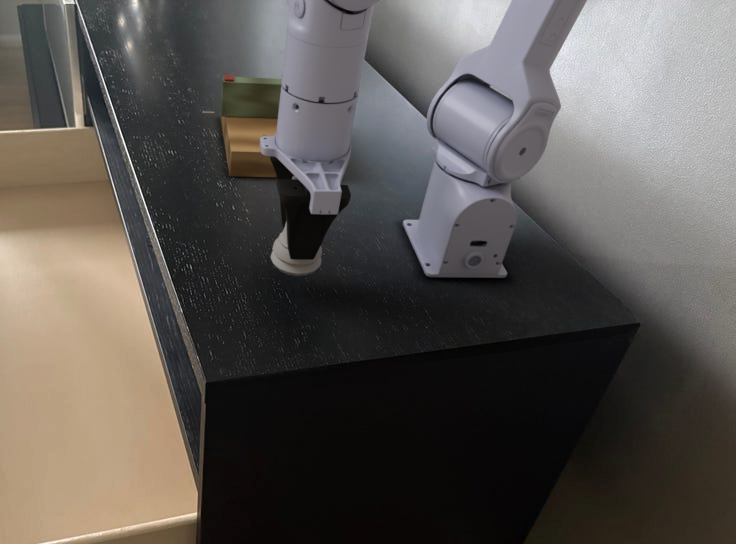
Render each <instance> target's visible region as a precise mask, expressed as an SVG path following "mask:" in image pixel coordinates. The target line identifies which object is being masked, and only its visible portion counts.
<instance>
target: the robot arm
mask: <svg viewBox="0 0 736 544" xmlns="http://www.w3.org/2000/svg"><path fill="white" fill-rule="evenodd" d="M379 1H380V0H286V2H287V3H288V4H289V7H288V16H287V24H286V25H287V26H286V34H285V45H284V54H283V63H282V71H281V72H282V73H281V79H282V81H281V83H282V84H281V93H280V102H279V112H278V121H277V131H276V134H275V135H274V136H264V137H261V138H260V150H261V153H262V154H263V155H265V156H270V160H271V162H272V164H273V167H274V169H275V172H276V175H277V178H276V183H275V184H276V189H277V192H278V193H277V194H278V197H279V208H280V220H281V225H282V229H283V230H284V227H285V224H286V221H287V245H288V251H289V255H290V259H297V260H313V259H314V258H315V256H316V254H317V252H318V250H319V248H320V246H321V247H322V244H323V241H324V239H325V237H326V235H327V233H328V231H329V229H330V227H331V225H332V224H333V222H334V221H335V220H336V219H337V217H338V216H339V214H340V213H342V211H343V210H345V208H346V207H348V205H349V204H350V202H351V198H352V192H351V190H350V188H349V185H348V184H342V181H343V179H344V177H345V176H344V175H345V173H346V171H347V166H348V165H349V162H350V159H351V152H352V146H351V137H352V132H353V128H354V127H353V126H354V120H355V115H356V110H357V104H358V97H359V91H360V87H361V80H362V75H363V68H364V62H365V57H366V53H367V47H368V40H369V34H370V28H371V24H372V17H373V12H374V5H375V4H377V2H379ZM587 2H588V0H511V1H510V3H509V5H508V8H507V10H506V12H505V13H504V15H503V18H502V19H501V22H500V24H499V26H498V28H497V30H496V32H495V33H494V35H493V38H492V40H491V42H490V44H489V45H487V46H485V47H483V48H481V49H478V50H476V51H474V52H470V53H467V54H466V55H463V56H462V57H460V58H459V60H458V62H457V64H456V66H455V68H454V70H453V72H452V74H451V75H450V77H449V78H448V79H447V81H446V82H445V83H444V84H443V85H442V86H441V87H440V88H439V89H438V91H437V92H436V93H435V95H434V97H433V98H432V100H431V101H430V105H429V107H428V110H427V114H426V128H427V131H428V133H429V135H430V136H431V137H432V138H433V139H434V140H433V143H432V147H431V151H432V152H433V153H434V154H435V158H434V161H433V165H432V169H431V172H430V176H429V180H428V184H427V188H426V192H425V195H424V199H423V203H422V206H421V210H420V214H419V217H418V219H404V220H403V221H402V226H403V228H404V230H405V233H406V235H407V237H408V240H409V242H410V244H411V246H412V249H413V250H414V252H415V254H416V257H417V259H418V262H419V264H420V266H421V268H422V270H423V273H424V274H425V276H426V277H428V278H467V279H468V278H472V279H473V278H474V279H475V278H476V279H477V278H479V279H480V278H481V279H483V278H485V279H504V278H506V277H507V276H508V272H507V270H506V268H505V266H504V264H503V262H504V259H505V256H506V253H507V250H508V247H509V246H510V242H511V239H512V236H513V235H514V232H515V229H516V226H517V221H518V214H517V211H516V208H515V206H514V203H513V199H512V183H513V182H515V181H517V180H520V179H521V178H523V177H524V176H525V175H527V174H528V173H529V172H530V171H531V170H532V169H534V168H535V166H536V165H537V164H538V163H539V161H540V160H541V158H542V157H543V156H544V153H545V151H546V148H547V146H548V141H549V137H550V134H551V129H552V126H553V123H554V121H555V119H556V118H557V115H558V114H559V112H560V111H561V109H562V105H561V101H560V100H561V99H560V97H559V94H558V92H557V89H556V86H555V84H554V80H553V78H552V75H551V68H552V66H553V64H554V62H555V60H556V59H557V57H558V54H559V53H560V51H561V49H562V47H563V46H564V44H565V42H566V40H567V38H568V37H569V34H570V33H571V31H572V29H573V27H574V26H575V23H576V21H578V18H579V16H580V14H581V13H582V10H583V9H584V7H585V5H586V3H587ZM494 88H495V89H494ZM506 95H507V96H506ZM293 176H295V177H296V178H297V179H298V180H294V179H292V177H293ZM283 230H282V231H283Z"/></svg>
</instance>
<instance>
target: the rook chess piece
mask: <svg viewBox="0 0 736 544" xmlns="http://www.w3.org/2000/svg"><path fill="white" fill-rule="evenodd" d="M292 179H294V180H298V179H297V178H296V177H295V176H293V177H292ZM271 249H272V251H271V253H270V259H271V262H272V264H273V265H274V267H275V268H276V269H278V270H279V271H280V272H281V273H284V274H286V275H288V276H295V277H302V276H308V275H311V274H313V273H314V272H315V271H316V270H318V268H319V267H321V265H322V255H323V248H322V245H321V246H320V248H319V250H318V252H317V254H316V256H315V258H314V259H313V260H297V259H290V255H289V251H288V245H287V221H286V224H285V227H284V230H282V231H281V232H280V233H279V234H278V237H277V238H276V239H275V240H274V242H273V244H272V248H271Z"/></svg>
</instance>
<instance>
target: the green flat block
mask: <svg viewBox="0 0 736 544" xmlns="http://www.w3.org/2000/svg"><path fill="white" fill-rule="evenodd" d="M281 81H282V78H272V77H271V78H270V77H248V76H247V77H246V76H234V74H224V75H223V76H221V87H220V88H221V89H220V109H219V110H220V117H221V116H227V117H253V118H278V112H279V102H280V93H281V84H282V83H281Z"/></svg>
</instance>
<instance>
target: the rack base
mask: <svg viewBox="0 0 736 544" xmlns="http://www.w3.org/2000/svg"><path fill="white" fill-rule="evenodd" d="M215 113H216V112H215V111H207V110H205V111H204V110H202V112H201V114H202V115H215ZM277 121H278V118H253V117H227V116H221V115H220V124H221V131H222V136H223V143H224V149H225V156H226V157H225V158H226V163H227V169H228V176H229V177H237V178H238V177H240V178H276V179H277V175H276V172H275V169H274V167H273V164H272V162H271V160H270V156H265V155H263V154H262V153H261V150H260V138H261V137H264V136H274V135H275V134H276V131H277Z"/></svg>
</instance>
